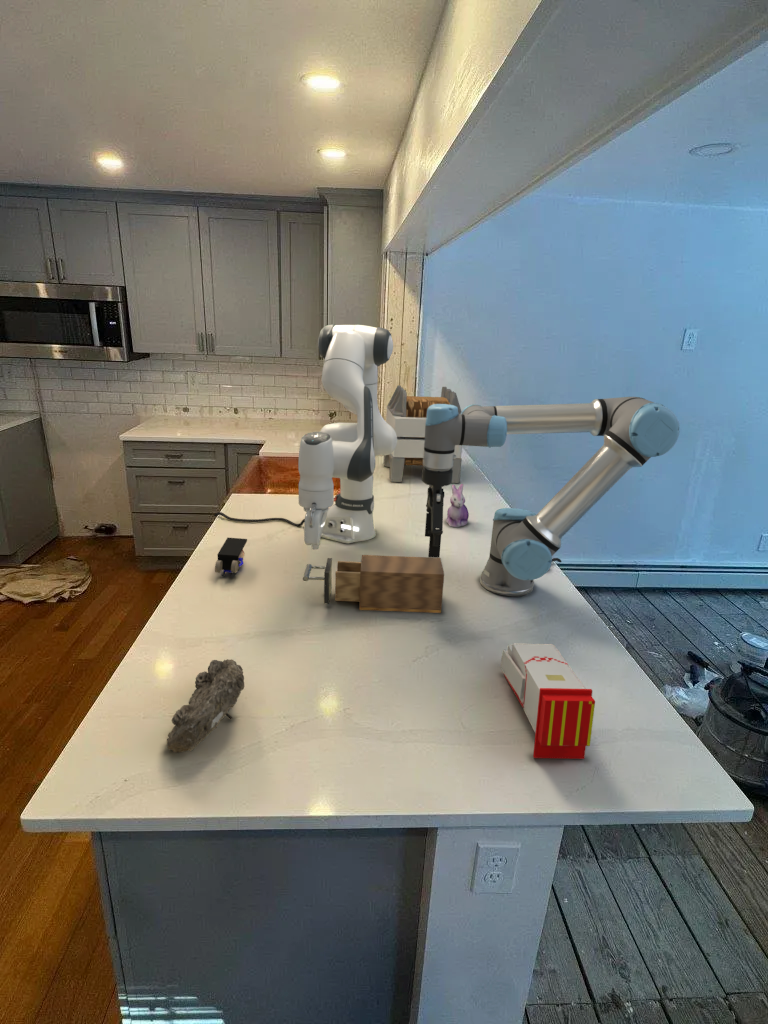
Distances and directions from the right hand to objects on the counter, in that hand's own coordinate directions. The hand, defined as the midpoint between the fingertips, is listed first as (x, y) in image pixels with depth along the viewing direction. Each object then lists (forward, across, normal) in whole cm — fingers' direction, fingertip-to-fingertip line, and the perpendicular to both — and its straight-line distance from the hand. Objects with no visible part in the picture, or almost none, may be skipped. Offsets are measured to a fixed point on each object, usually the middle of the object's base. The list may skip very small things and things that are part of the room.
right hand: (431, 546), depth 148 cm
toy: (+17, -42, -19) cm, 49 cm away
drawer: (+16, 0, +20) cm, 26 cm away
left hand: (+2, 0, +30) cm, 30 cm away
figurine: (+17, +62, -15) cm, 66 cm away
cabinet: (+17, 0, +8) cm, 18 cm away
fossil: (+17, -48, +44) cm, 67 cm away
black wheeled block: (+17, +15, +57) cm, 61 cm away
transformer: (+17, +129, -5) cm, 130 cm away
